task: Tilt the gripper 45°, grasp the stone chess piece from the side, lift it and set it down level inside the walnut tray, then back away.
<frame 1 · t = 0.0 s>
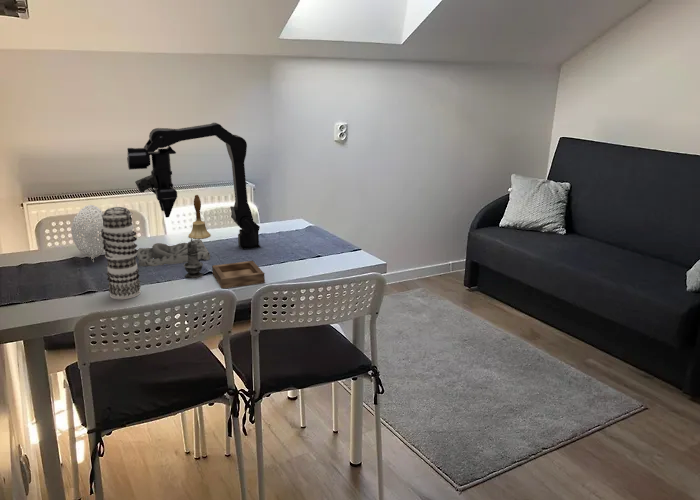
hand: (165, 214, 202), 15 cm above the table, tool pointing down, fingers open, 9 cm apart
stone chess piece: (194, 276, 189), on the table
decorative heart: (93, 258, 204), on the table
wall plaque: (172, 257, 208), on the table
decorative candle: (125, 294, 173), on the table
hand bell: (199, 236, 230), on the table
walnut tray: (238, 278, 186), on the table
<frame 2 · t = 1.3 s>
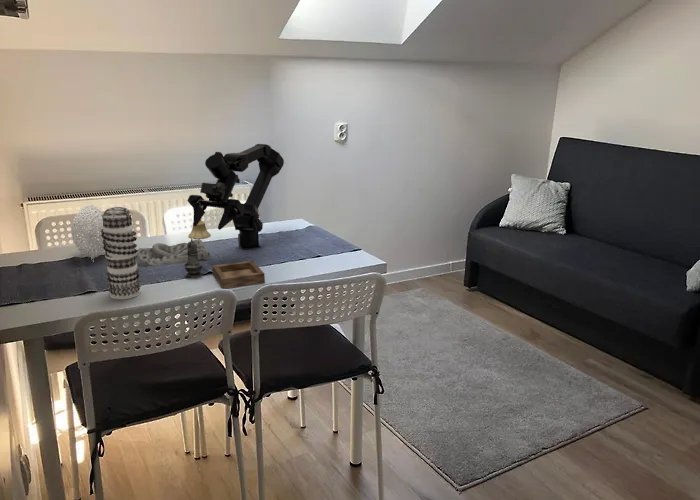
hand: (206, 227, 192), 13 cm above the table, tool tilted 45°, fingers open, 9 cm apart
nothing on the table moved.
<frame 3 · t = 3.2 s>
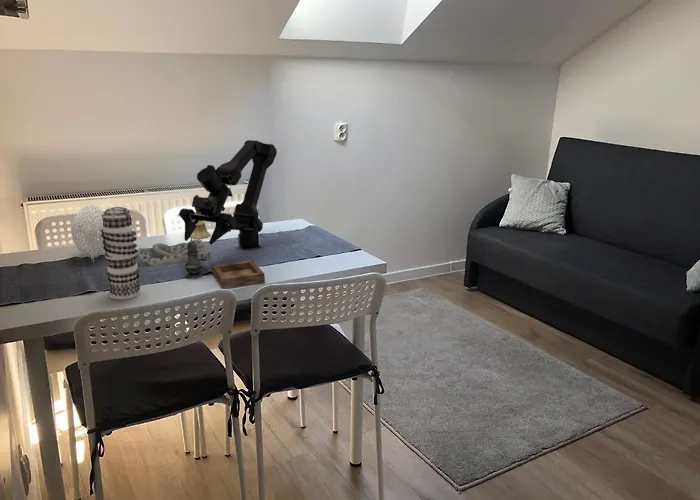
hand: (197, 241, 188), 10 cm above the table, tool tilted 45°, fingers open, 9 cm apart
nothing on the table moved.
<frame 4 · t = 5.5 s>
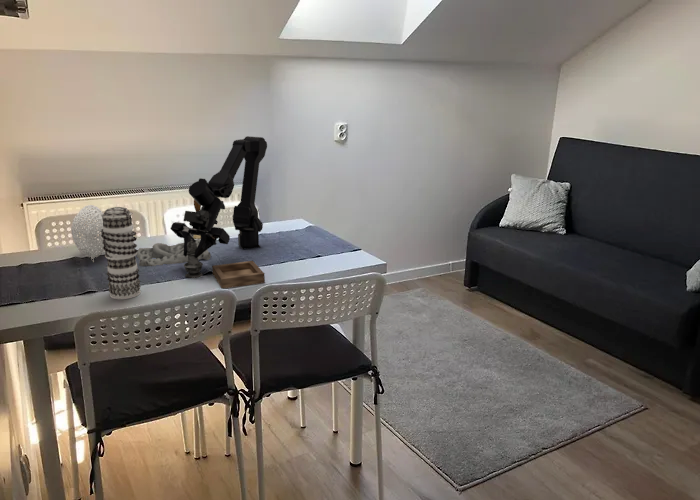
hand: (189, 256, 185), 7 cm above the table, tool tilted 45°, fingers closed on stone chess piece, 3 cm apart
stone chess piece: (194, 276, 189), on the table, touching gripper
everything else where it was.
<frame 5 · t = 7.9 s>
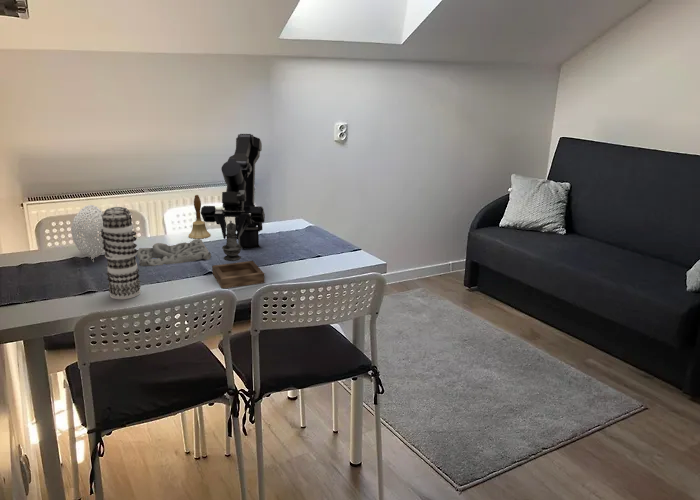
hand: (230, 238, 181), 13 cm above the table, tool tilted 45°, fingers closed on stone chess piece, 3 cm apart
stone chess piece: (232, 258, 185), point 6 cm above the table, touching gripper
everything else where it was.
when the fingers open (9 cm above the table, at t = 10.4 s): stone chess piece drops 1 cm, resting on walnut tray.
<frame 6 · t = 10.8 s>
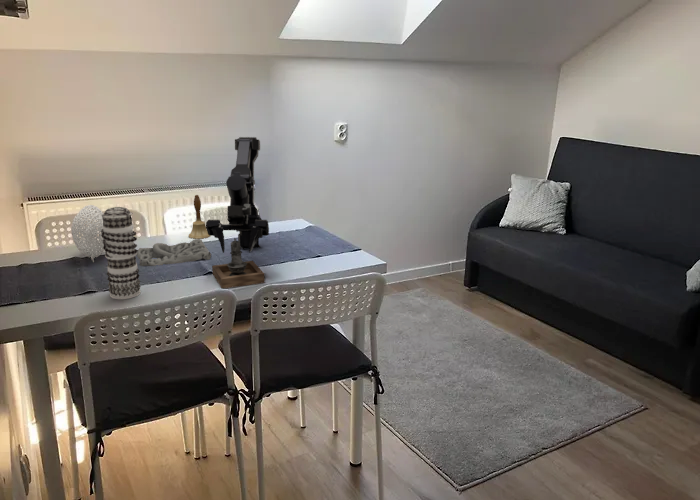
hand: (236, 252, 182), 9 cm above the table, tool tilted 45°, fingers open, 8 cm apart
stone chess piece: (237, 275, 186), point 1 cm above the table, touching walnut tray
everything else where it was.
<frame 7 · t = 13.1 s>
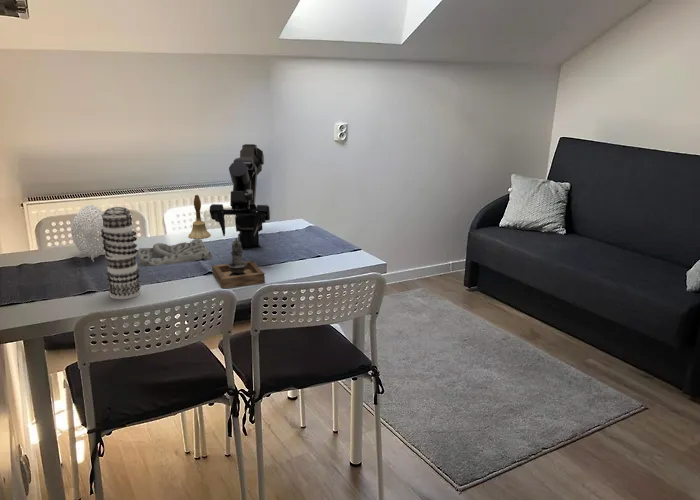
hand: (238, 235, 190), 12 cm above the table, tool tilted 45°, fingers open, 9 cm apart
nothing on the table moved.
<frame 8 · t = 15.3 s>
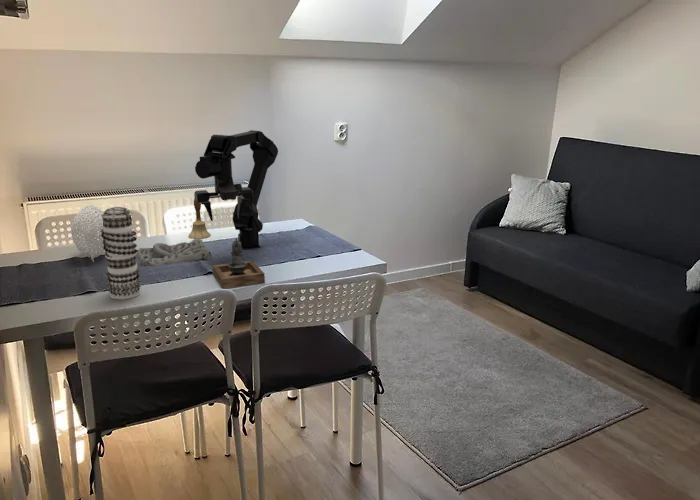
hand: (225, 219, 203), 13 cm above the table, tool pointing down, fingers open, 9 cm apart
nothing on the table moved.
at the end: stone chess piece 0.2 cm off-centre on the walnut tray, point 0.8 cm above the walnut tray's base; stone chess piece tilted 0°; the gripper is holding nothing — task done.
